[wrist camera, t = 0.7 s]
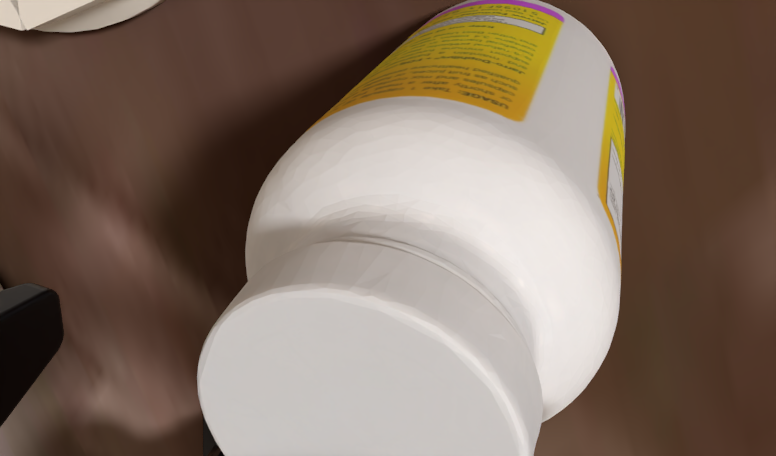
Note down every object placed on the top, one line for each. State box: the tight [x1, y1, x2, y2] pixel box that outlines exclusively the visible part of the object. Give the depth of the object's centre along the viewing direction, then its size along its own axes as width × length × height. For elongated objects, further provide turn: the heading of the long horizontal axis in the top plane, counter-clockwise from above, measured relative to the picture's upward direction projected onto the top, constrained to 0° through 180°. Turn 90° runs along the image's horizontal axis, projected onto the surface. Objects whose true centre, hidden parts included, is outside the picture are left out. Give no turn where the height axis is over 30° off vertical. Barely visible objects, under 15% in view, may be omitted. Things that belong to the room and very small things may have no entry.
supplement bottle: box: [197, 0, 625, 456], centre depth 14 cm, size 7×7×13 cm
